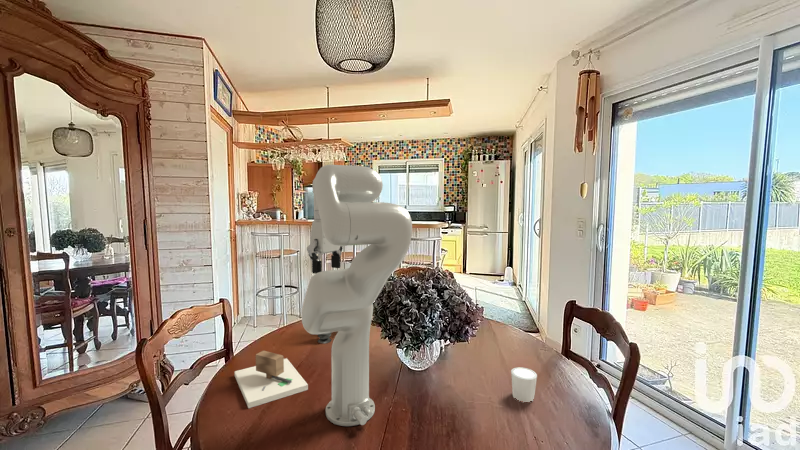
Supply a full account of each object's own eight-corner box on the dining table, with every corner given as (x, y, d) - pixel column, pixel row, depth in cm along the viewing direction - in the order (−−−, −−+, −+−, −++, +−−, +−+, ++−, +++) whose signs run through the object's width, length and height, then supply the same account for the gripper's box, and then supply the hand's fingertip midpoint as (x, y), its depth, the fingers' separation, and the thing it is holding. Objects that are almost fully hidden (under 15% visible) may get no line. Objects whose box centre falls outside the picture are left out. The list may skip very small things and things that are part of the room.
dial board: (307, 389, 100) (307, 384, 100) (248, 408, 91) (248, 402, 91) (286, 362, 116) (286, 357, 116) (234, 376, 107) (234, 370, 107)
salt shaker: (330, 344, 131) (330, 312, 130) (314, 343, 131) (314, 312, 131) (333, 337, 137) (333, 308, 136) (318, 337, 137) (318, 307, 136)
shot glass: (519, 405, 93) (520, 380, 92) (505, 392, 100) (506, 368, 99) (541, 402, 95) (542, 377, 94) (526, 388, 101) (527, 365, 101)
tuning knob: (256, 376, 104) (255, 354, 103) (263, 371, 106) (263, 350, 106) (287, 385, 99) (286, 362, 98) (294, 380, 101) (294, 358, 101)
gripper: (332, 214, 117) (333, 264, 119) (297, 217, 102) (298, 274, 103) (351, 215, 114) (351, 266, 116) (318, 217, 99) (319, 277, 100)
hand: (326, 270), depth 109 cm, fingers open, 9 cm apart
